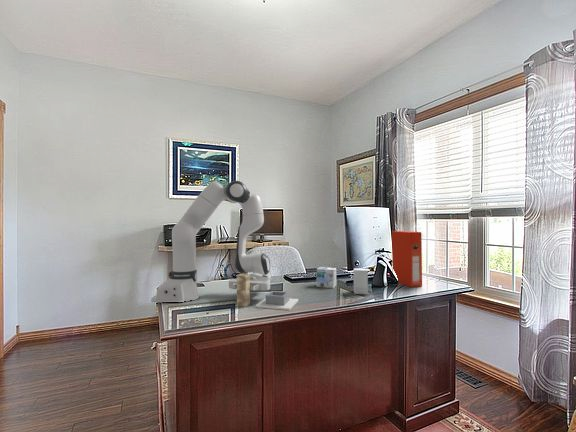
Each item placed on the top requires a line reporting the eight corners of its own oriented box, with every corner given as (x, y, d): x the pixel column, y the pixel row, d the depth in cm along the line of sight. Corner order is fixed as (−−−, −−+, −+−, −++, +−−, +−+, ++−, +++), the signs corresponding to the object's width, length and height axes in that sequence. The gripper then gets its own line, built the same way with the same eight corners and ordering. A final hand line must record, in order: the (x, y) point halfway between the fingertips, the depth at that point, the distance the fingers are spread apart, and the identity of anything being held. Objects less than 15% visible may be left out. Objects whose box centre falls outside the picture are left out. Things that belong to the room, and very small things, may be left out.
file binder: (410, 287, 178) (410, 232, 178) (392, 281, 194) (392, 231, 194) (422, 286, 180) (421, 232, 180) (402, 280, 196) (402, 231, 197)
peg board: (255, 307, 138) (255, 296, 138) (267, 298, 154) (267, 288, 154) (289, 310, 134) (289, 299, 134) (298, 300, 149) (298, 290, 150)
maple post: (236, 305, 141) (236, 275, 141) (241, 303, 145) (241, 273, 145) (245, 306, 140) (245, 276, 140) (249, 304, 144) (249, 274, 144)
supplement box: (368, 294, 161) (367, 270, 161) (353, 293, 163) (353, 270, 163) (367, 291, 169) (367, 268, 169) (353, 290, 170) (353, 267, 170)
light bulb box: (316, 286, 180) (316, 268, 180) (319, 284, 186) (319, 266, 186) (334, 288, 176) (333, 269, 176) (336, 285, 182) (336, 267, 182)
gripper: (235, 274, 158) (222, 279, 145) (272, 276, 153) (263, 282, 139) (235, 286, 158) (222, 293, 145) (272, 289, 153) (263, 296, 139)
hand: (242, 287), depth 142 cm, fingers open, 8 cm apart
